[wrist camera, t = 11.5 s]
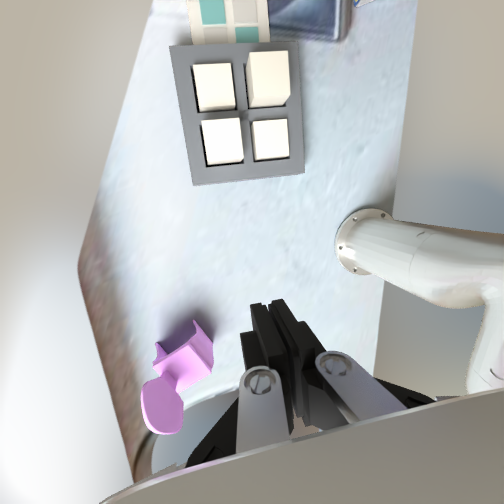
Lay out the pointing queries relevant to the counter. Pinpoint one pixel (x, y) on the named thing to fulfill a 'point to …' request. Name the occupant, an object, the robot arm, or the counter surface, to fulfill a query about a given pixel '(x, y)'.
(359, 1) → the ink cartridge box
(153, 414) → the toy chair
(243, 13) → the board
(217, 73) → the button
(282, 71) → the button
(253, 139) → the button
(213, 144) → the button
